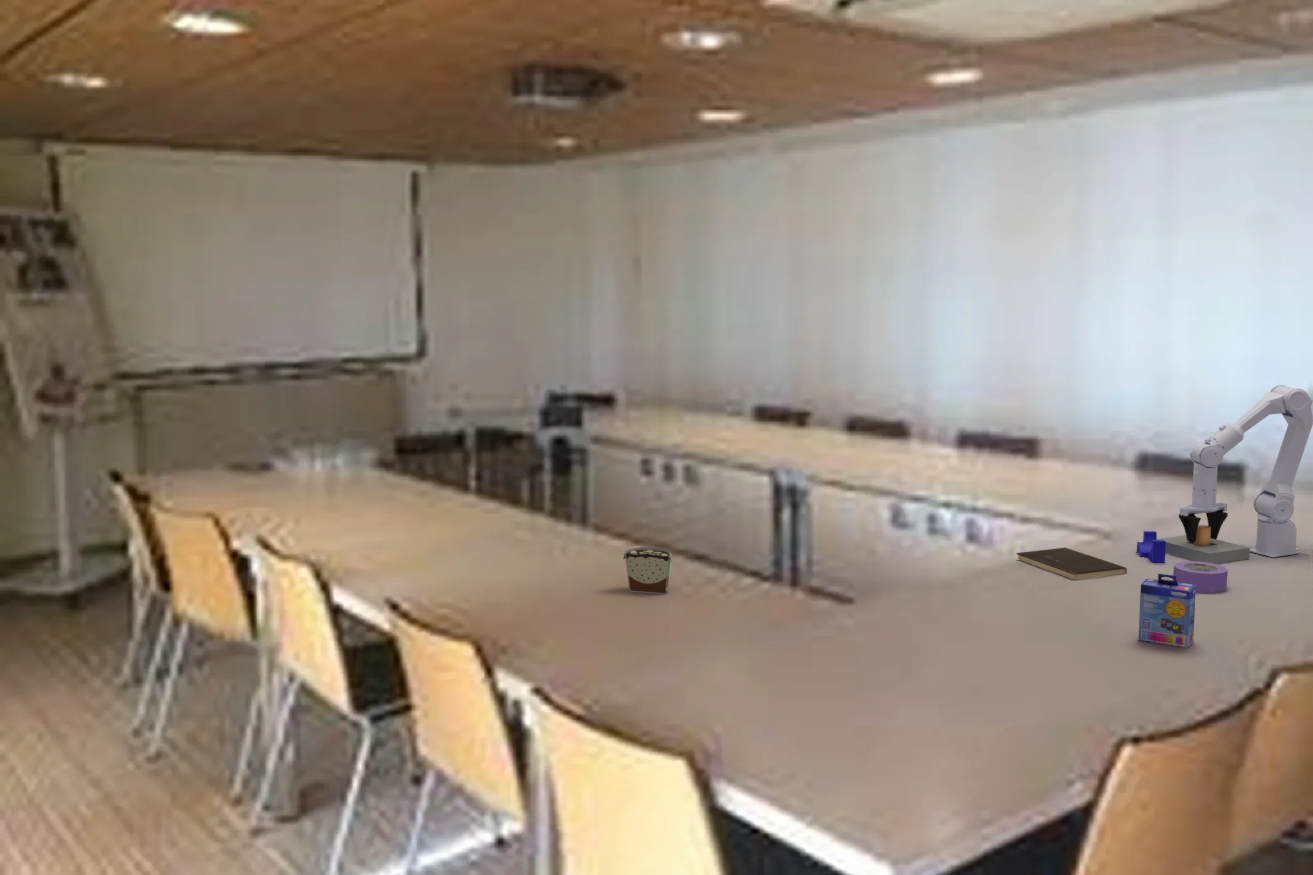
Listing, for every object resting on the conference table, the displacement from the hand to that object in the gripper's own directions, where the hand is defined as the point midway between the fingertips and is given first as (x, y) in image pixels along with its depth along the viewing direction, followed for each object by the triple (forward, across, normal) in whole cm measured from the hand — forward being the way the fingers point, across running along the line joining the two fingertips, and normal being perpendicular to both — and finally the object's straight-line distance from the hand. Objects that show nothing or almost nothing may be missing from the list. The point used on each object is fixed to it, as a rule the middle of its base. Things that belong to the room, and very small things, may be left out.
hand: (1202, 540), depth 322 cm
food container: (+4, -143, +33) cm, 147 cm away
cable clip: (+4, -14, +3) cm, 15 cm away
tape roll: (+4, -25, -23) cm, 34 cm away
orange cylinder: (+3, 0, 0) cm, 3 cm away
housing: (+4, 0, 0) cm, 4 cm away
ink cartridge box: (+4, -64, -51) cm, 82 cm away
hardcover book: (+5, -39, +6) cm, 39 cm away
